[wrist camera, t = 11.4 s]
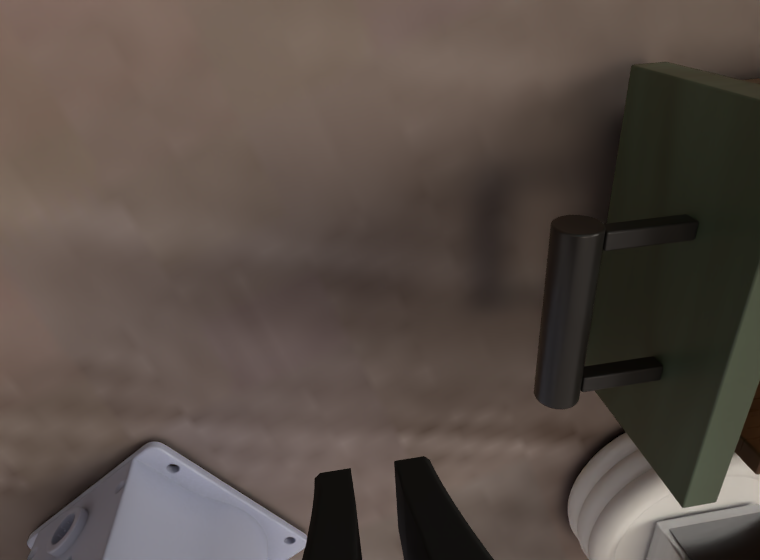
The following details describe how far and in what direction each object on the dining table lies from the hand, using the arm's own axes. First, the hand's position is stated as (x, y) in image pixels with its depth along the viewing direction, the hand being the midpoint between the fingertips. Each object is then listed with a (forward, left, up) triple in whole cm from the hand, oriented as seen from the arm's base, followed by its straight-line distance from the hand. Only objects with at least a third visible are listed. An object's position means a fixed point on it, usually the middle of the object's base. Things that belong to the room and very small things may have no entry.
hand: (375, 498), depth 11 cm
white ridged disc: (+21, +4, -11) cm, 24 cm away
